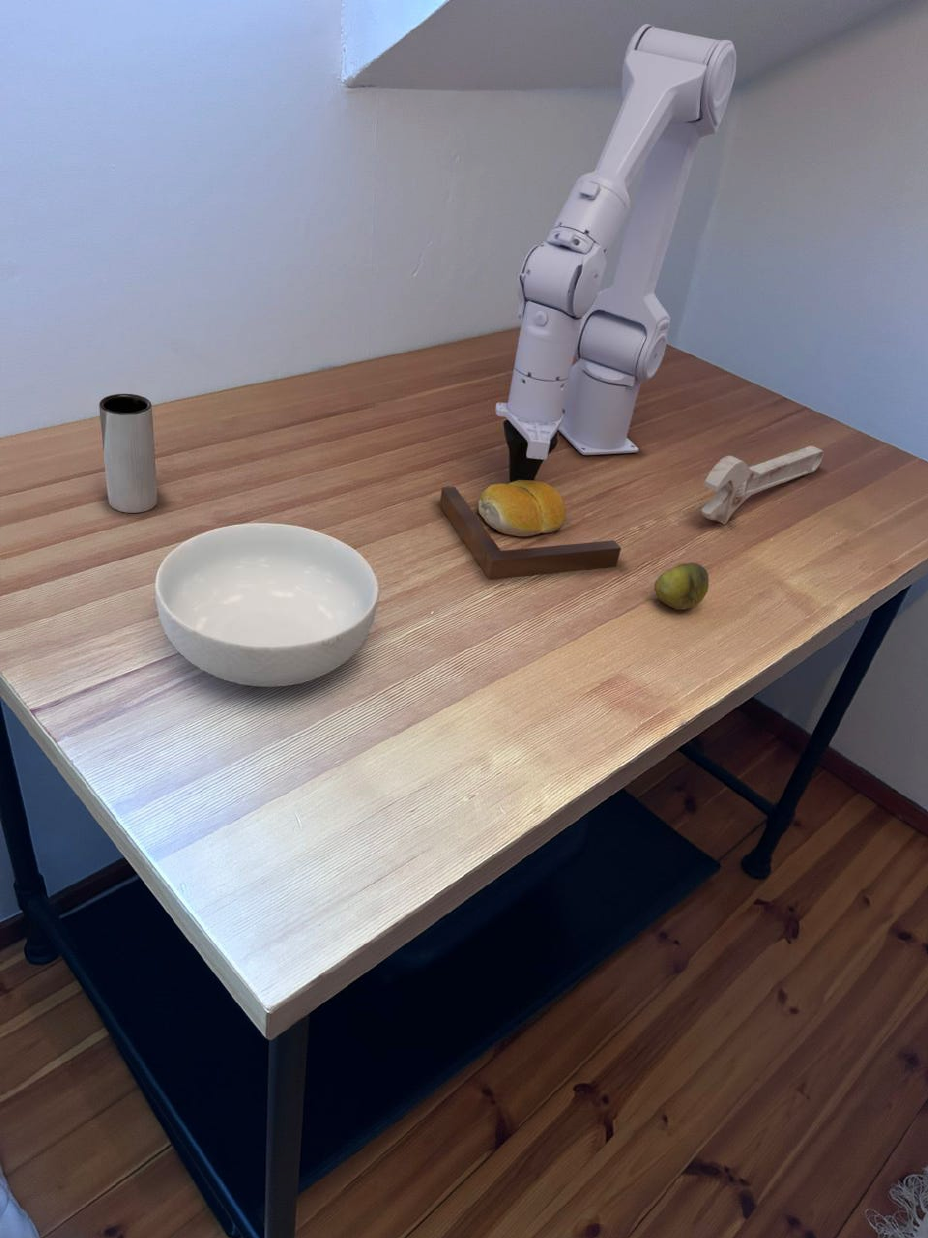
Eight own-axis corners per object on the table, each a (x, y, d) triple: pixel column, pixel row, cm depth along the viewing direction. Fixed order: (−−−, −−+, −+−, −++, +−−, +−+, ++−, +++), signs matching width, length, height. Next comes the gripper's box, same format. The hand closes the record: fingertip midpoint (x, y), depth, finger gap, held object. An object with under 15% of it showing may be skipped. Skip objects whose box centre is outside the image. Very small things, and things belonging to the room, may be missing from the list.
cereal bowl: (179, 737, 68) (175, 661, 64) (144, 603, 80) (139, 532, 75) (401, 698, 74) (410, 626, 70) (338, 580, 86) (343, 513, 82)
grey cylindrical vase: (167, 500, 93) (162, 402, 87) (135, 518, 90) (128, 418, 84) (130, 485, 94) (122, 388, 88) (98, 503, 91) (87, 404, 85)
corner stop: (439, 505, 100) (441, 487, 98) (556, 497, 105) (560, 479, 104) (489, 579, 90) (492, 560, 88) (616, 566, 95) (621, 547, 94)
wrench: (809, 489, 122) (700, 535, 101) (796, 483, 123) (685, 528, 102) (835, 431, 118) (726, 466, 97) (822, 425, 119) (711, 459, 98)
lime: (644, 604, 90) (657, 560, 87) (669, 586, 93) (683, 543, 90) (684, 626, 88) (699, 582, 85) (708, 607, 91) (724, 564, 88)
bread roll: (576, 530, 100) (584, 497, 97) (506, 545, 95) (513, 511, 93) (532, 492, 105) (539, 460, 102) (464, 505, 100) (470, 472, 98)
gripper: (499, 339, 101) (480, 453, 109) (507, 394, 89) (485, 518, 97) (564, 347, 101) (541, 460, 109) (580, 403, 90) (552, 525, 98)
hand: (519, 488), depth 103 cm, fingers closed
